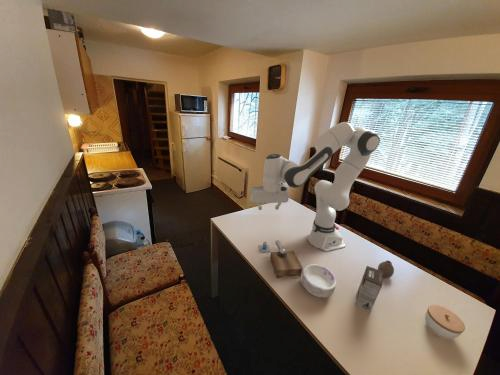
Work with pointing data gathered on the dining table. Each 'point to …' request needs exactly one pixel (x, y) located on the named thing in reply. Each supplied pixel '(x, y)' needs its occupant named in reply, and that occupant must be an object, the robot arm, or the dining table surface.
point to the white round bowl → (318, 280)
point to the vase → (386, 269)
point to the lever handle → (280, 248)
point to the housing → (286, 264)
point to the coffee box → (369, 288)
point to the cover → (264, 248)
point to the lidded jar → (444, 322)
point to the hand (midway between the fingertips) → (268, 209)
